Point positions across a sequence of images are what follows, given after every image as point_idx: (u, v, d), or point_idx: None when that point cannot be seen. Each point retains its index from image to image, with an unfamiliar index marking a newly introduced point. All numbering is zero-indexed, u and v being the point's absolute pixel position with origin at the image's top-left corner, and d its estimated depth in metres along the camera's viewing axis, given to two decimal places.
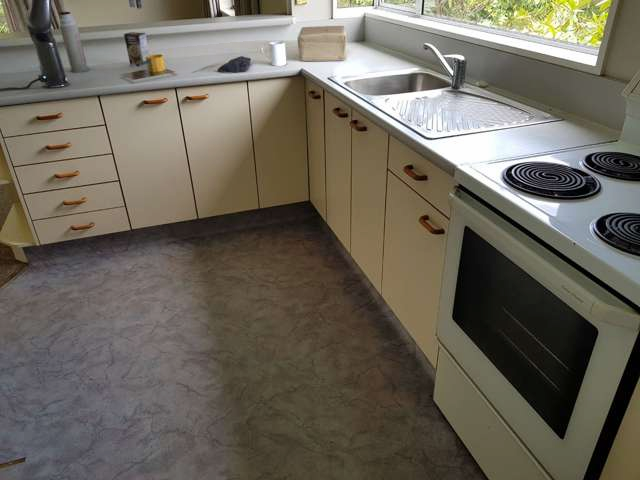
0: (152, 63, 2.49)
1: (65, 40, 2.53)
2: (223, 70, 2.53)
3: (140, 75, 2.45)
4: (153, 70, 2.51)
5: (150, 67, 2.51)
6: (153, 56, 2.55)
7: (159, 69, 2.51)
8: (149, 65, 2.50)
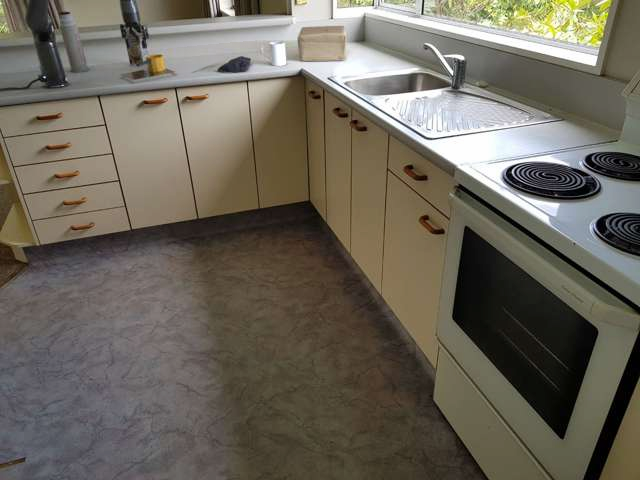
0: (152, 63, 2.49)
1: (65, 40, 2.53)
2: (223, 70, 2.53)
3: (140, 75, 2.45)
4: (153, 70, 2.51)
5: (150, 67, 2.51)
6: (153, 56, 2.55)
7: (159, 69, 2.51)
8: (149, 65, 2.50)
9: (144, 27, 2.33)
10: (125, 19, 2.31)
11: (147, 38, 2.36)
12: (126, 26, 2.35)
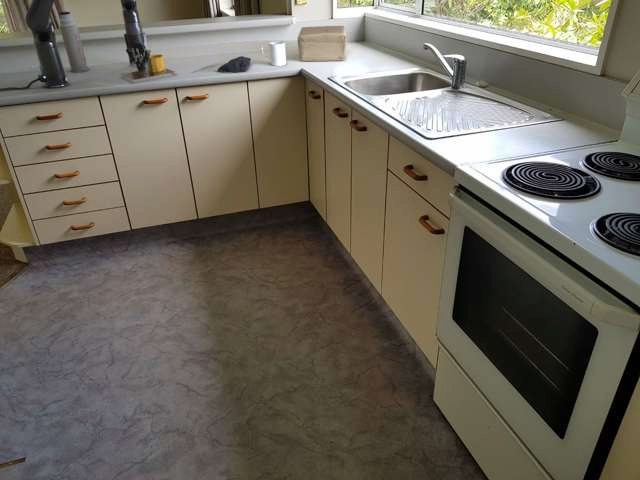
0: (152, 63, 2.49)
1: (65, 40, 2.53)
2: (223, 70, 2.53)
3: (140, 75, 2.45)
4: (153, 70, 2.51)
5: (150, 67, 2.51)
6: (153, 56, 2.55)
7: (159, 69, 2.51)
8: (149, 65, 2.50)
9: (148, 53, 2.39)
10: (129, 40, 2.35)
11: (145, 61, 2.42)
12: (130, 47, 2.40)
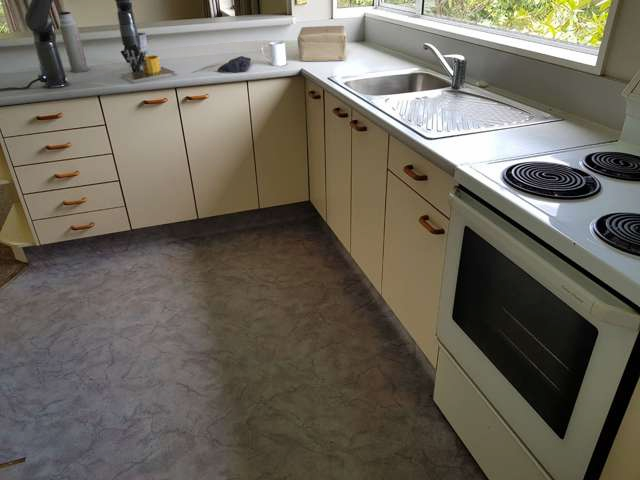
0: (147, 64, 2.47)
1: (65, 40, 2.53)
2: (223, 70, 2.53)
3: (140, 75, 2.45)
4: (148, 71, 2.49)
5: (145, 68, 2.48)
6: (148, 57, 2.52)
7: (154, 70, 2.49)
8: (144, 66, 2.48)
9: (143, 55, 2.36)
10: (124, 42, 2.33)
11: None
12: (125, 48, 2.38)
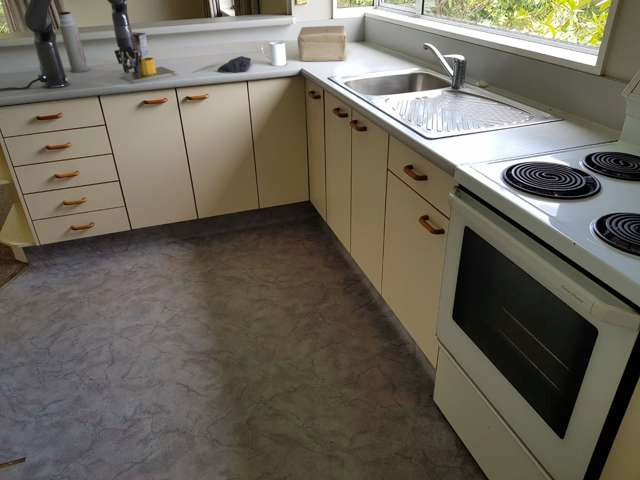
0: (142, 66, 2.44)
1: (65, 40, 2.53)
2: (223, 70, 2.53)
3: (140, 75, 2.45)
4: (143, 73, 2.46)
5: (140, 70, 2.45)
6: (144, 59, 2.49)
7: (150, 72, 2.46)
8: (139, 68, 2.45)
9: (138, 54, 2.33)
10: (119, 44, 2.30)
11: (139, 64, 2.36)
12: (120, 50, 2.35)
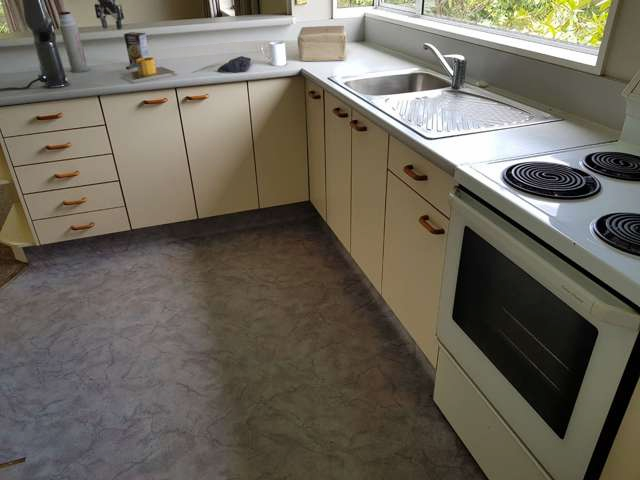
0: (142, 66, 2.44)
1: (65, 40, 2.53)
2: (223, 70, 2.53)
3: (140, 75, 2.45)
4: (143, 73, 2.46)
5: (140, 70, 2.45)
6: (144, 59, 2.49)
7: (150, 72, 2.46)
8: (139, 68, 2.45)
9: (119, 7, 2.27)
10: None
11: None
12: (101, 6, 2.30)
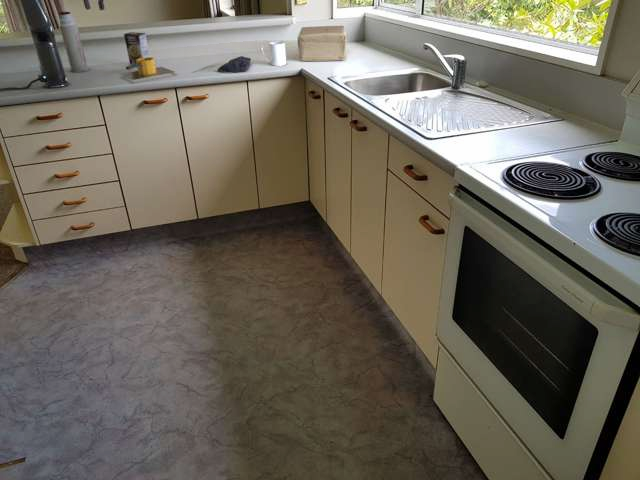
0: (142, 66, 2.44)
1: (65, 40, 2.53)
2: (223, 70, 2.53)
3: (140, 75, 2.45)
4: (143, 73, 2.46)
5: (140, 70, 2.45)
6: (144, 59, 2.49)
7: (150, 72, 2.46)
8: (139, 68, 2.45)
9: None
10: None
11: None
12: None
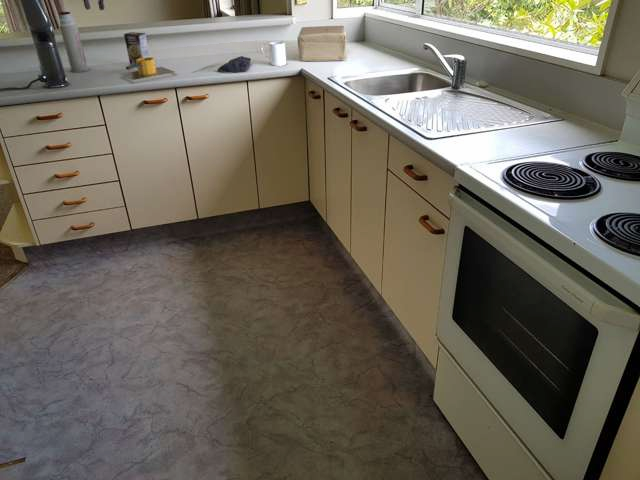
0: (142, 66, 2.44)
1: (65, 40, 2.53)
2: (223, 70, 2.53)
3: (140, 75, 2.45)
4: (143, 73, 2.46)
5: (140, 70, 2.45)
6: (144, 59, 2.49)
7: (150, 72, 2.46)
8: (139, 68, 2.45)
9: None
10: None
11: None
12: None
